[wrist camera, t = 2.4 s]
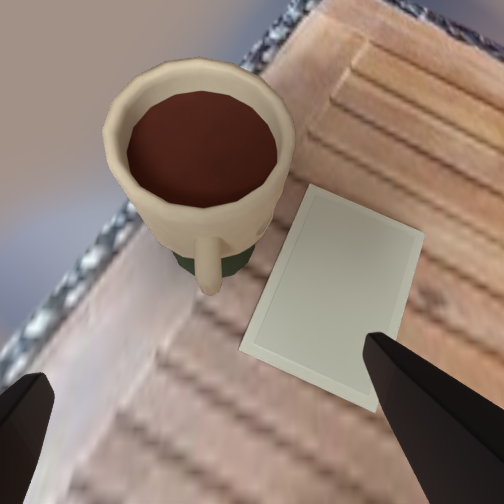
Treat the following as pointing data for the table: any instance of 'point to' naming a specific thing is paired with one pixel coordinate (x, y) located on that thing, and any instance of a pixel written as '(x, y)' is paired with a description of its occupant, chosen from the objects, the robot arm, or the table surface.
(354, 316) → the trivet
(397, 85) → the table surface
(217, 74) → the character mug
